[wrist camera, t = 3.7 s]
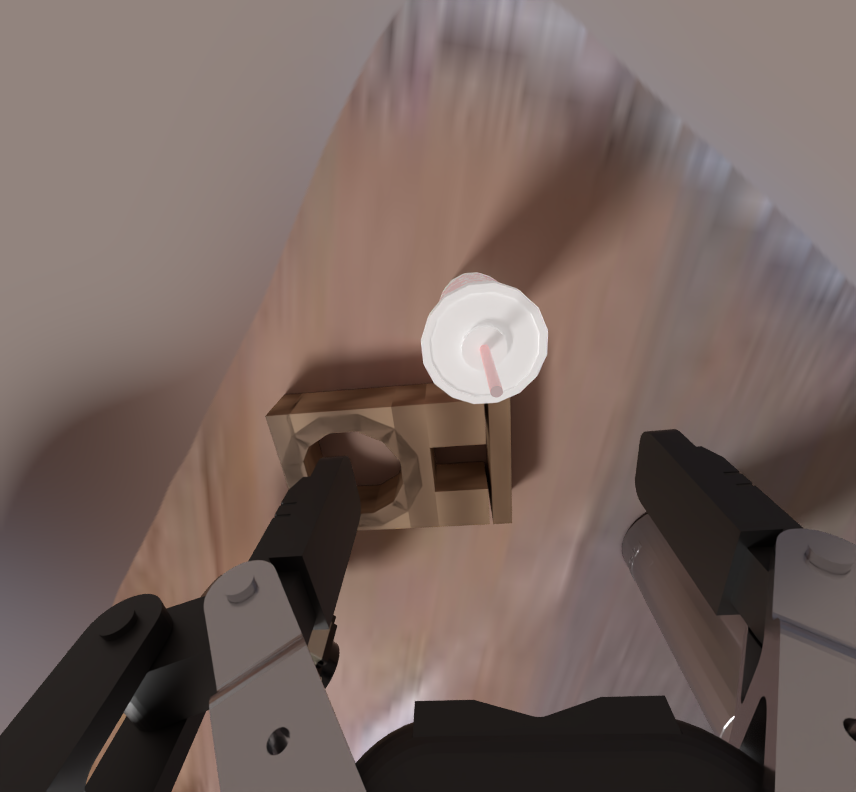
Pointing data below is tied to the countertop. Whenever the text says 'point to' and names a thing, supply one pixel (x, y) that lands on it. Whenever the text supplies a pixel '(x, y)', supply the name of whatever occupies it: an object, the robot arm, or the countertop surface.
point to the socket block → (406, 451)
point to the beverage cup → (483, 340)
